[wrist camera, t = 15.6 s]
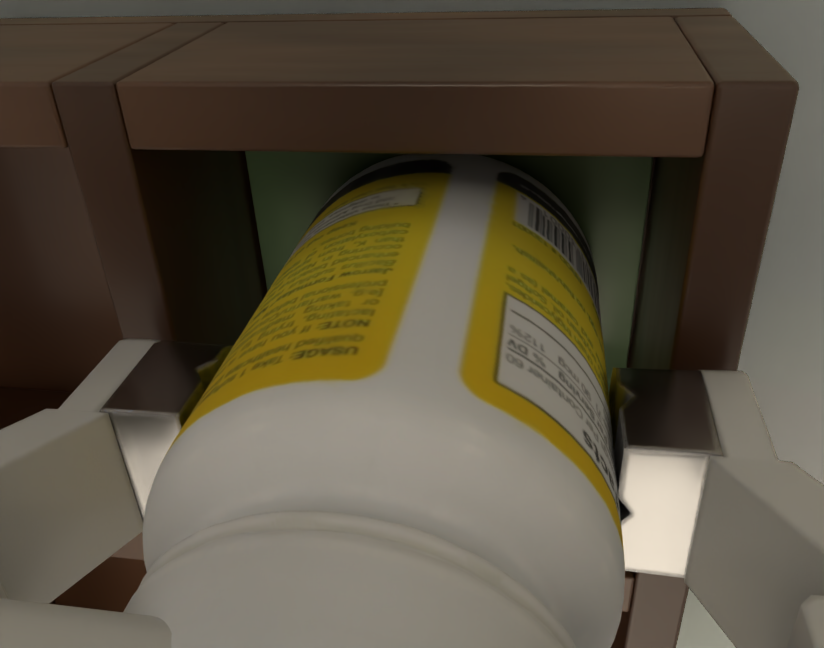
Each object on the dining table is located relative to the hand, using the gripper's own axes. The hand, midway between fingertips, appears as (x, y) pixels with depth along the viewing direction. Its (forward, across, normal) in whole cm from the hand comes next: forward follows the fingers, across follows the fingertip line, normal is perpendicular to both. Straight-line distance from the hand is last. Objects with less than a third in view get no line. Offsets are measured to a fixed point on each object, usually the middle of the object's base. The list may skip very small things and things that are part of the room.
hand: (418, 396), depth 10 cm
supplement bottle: (+3, 0, 0) cm, 3 cm away
